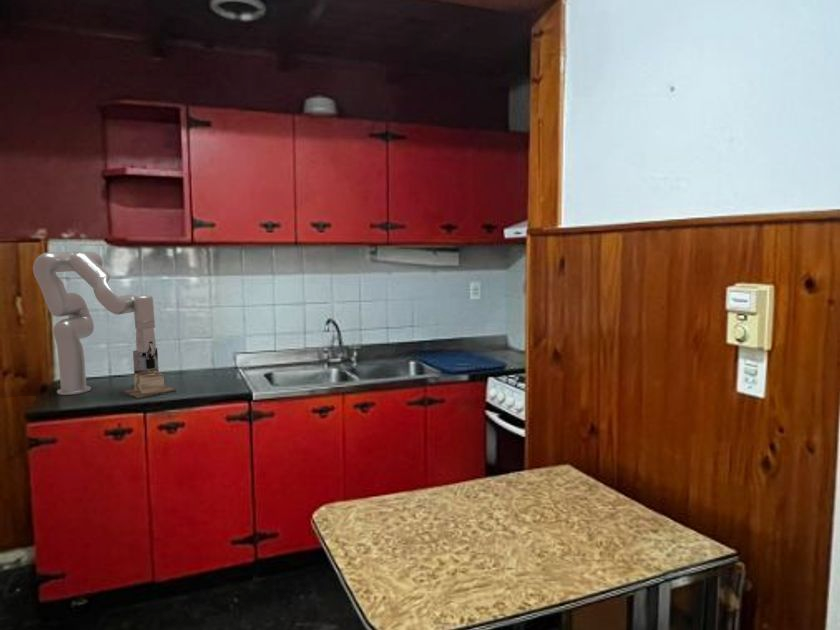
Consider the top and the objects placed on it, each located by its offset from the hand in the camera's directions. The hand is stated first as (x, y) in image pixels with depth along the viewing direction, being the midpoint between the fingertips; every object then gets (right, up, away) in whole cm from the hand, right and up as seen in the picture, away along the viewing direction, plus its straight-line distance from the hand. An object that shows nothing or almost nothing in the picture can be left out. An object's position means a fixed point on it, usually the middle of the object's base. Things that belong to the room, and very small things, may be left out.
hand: (148, 367), depth 255 cm
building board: (0, -11, +1) cm, 11 cm away
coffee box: (-8, -9, +16) cm, 20 cm away
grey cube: (0, -1, 0) cm, 1 cm away
